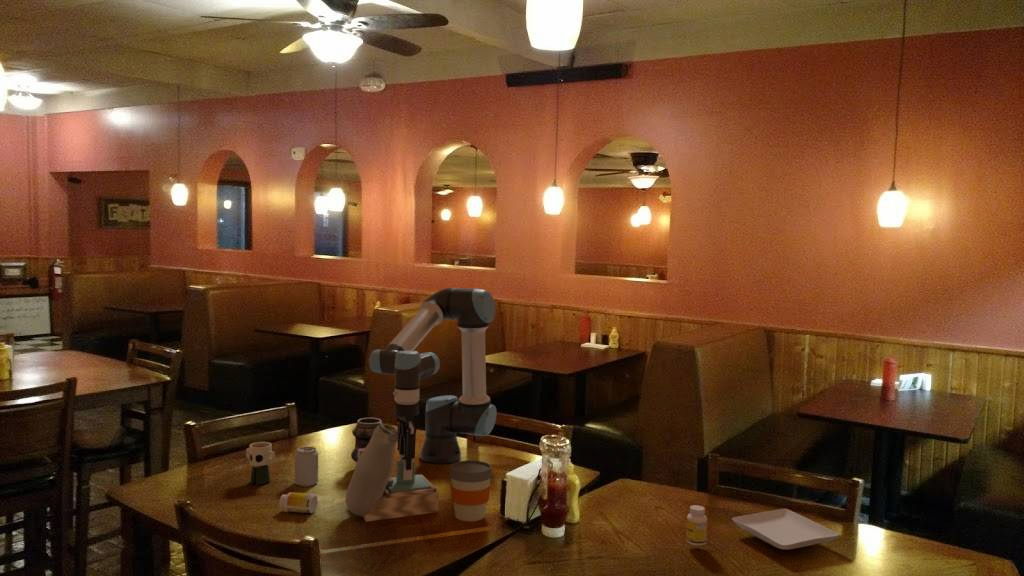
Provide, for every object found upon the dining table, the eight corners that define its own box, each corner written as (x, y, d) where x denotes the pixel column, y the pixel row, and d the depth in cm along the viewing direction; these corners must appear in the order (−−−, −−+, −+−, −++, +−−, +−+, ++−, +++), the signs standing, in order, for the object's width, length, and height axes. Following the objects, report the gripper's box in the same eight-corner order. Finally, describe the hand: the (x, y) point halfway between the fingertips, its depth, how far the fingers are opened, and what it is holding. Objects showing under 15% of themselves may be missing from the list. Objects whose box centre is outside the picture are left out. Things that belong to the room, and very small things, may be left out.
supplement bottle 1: (317, 490, 222) (284, 487, 223) (310, 501, 217) (276, 498, 218) (319, 505, 224) (286, 503, 225) (312, 517, 219) (279, 514, 220)
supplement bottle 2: (683, 538, 208) (684, 504, 208) (702, 538, 209) (703, 504, 208) (689, 546, 203) (691, 511, 202) (708, 546, 204) (710, 511, 203)
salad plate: (782, 556, 198) (782, 544, 198) (729, 527, 218) (730, 516, 218) (840, 545, 207) (841, 533, 207) (785, 518, 226) (785, 507, 226)
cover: (418, 479, 235) (419, 454, 235) (430, 491, 224) (430, 465, 224) (381, 483, 230) (381, 458, 230) (391, 495, 219) (391, 469, 219)
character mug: (239, 484, 244) (239, 445, 243) (253, 478, 251) (253, 440, 250) (267, 488, 241) (267, 449, 240) (280, 481, 247) (281, 443, 247)
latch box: (422, 494, 238) (422, 473, 238) (438, 512, 224) (438, 489, 223) (354, 503, 229) (354, 481, 229) (365, 521, 215) (365, 497, 214)
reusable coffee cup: (459, 526, 213) (460, 475, 212) (442, 511, 224) (443, 463, 223) (498, 519, 219) (499, 469, 218) (480, 505, 230) (481, 458, 229)
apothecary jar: (391, 472, 260) (392, 421, 259) (359, 477, 254) (359, 426, 252) (377, 463, 270) (377, 414, 269) (345, 468, 264) (346, 418, 262)
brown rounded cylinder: (379, 515, 221) (412, 431, 218) (360, 525, 212) (394, 437, 208) (353, 499, 225) (385, 416, 221) (334, 508, 215) (366, 421, 212)
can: (321, 481, 249) (321, 446, 248) (313, 488, 242) (313, 452, 241) (299, 479, 250) (300, 444, 249) (291, 487, 242) (291, 451, 242)
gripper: (387, 397, 232) (386, 470, 233) (402, 408, 217) (400, 487, 218) (411, 395, 235) (410, 468, 236) (426, 406, 220) (425, 484, 221)
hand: (405, 477), depth 227 cm, fingers open, 3 cm apart
